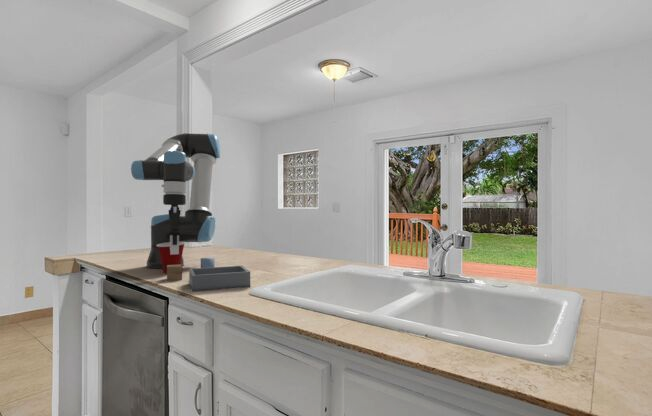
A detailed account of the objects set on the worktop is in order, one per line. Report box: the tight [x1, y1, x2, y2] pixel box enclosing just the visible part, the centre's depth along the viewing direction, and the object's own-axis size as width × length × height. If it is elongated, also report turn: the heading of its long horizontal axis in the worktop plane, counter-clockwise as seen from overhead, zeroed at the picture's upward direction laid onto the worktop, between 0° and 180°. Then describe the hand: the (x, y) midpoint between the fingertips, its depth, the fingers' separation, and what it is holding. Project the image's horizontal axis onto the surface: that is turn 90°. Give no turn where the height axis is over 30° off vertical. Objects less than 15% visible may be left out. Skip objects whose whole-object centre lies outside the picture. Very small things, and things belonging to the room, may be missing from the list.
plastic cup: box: [156, 242, 186, 274], centre depth 147 cm, size 11×11×12 cm
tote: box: [188, 265, 251, 293], centre depth 123 cm, size 14×18×5 cm
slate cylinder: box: [200, 257, 216, 268], centre depth 137 cm, size 5×5×7 cm
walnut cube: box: [166, 264, 183, 282], centre depth 133 cm, size 5×5×5 cm
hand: (174, 252), depth 132 cm, fingers open, 13 cm apart
